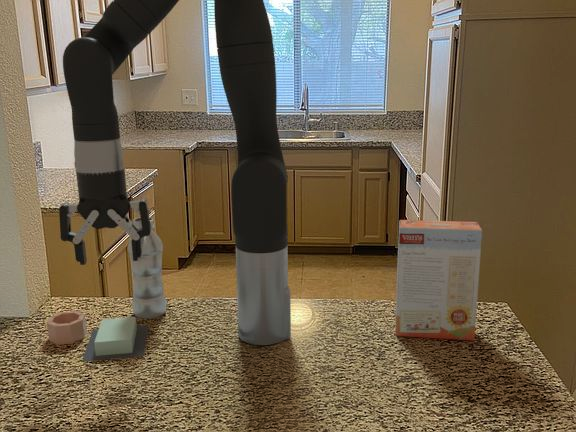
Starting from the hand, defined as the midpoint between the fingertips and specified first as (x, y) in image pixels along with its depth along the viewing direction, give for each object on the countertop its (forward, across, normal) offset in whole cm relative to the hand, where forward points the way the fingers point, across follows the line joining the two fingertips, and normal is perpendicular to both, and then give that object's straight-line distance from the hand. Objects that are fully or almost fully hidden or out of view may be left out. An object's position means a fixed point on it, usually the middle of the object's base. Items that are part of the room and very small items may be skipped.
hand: (109, 261), depth 96 cm
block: (+15, 0, 0) cm, 15 cm away
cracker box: (+17, -57, +5) cm, 59 cm away
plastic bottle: (+16, -5, -12) cm, 21 cm away
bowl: (+16, +9, -4) cm, 19 cm away
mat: (+16, 0, 0) cm, 16 cm away
